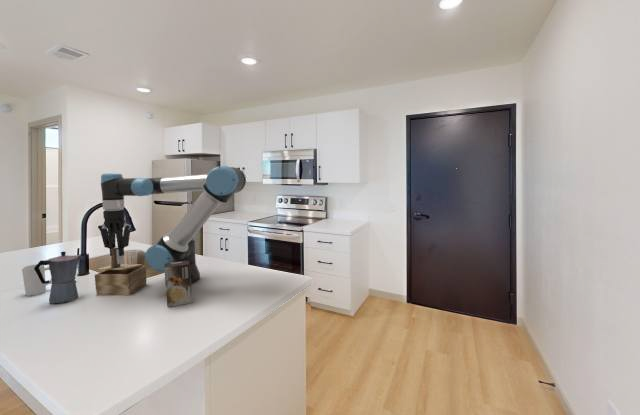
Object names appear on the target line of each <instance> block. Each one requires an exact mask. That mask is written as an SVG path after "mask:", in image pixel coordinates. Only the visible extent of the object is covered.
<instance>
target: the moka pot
mask: <svg viewBox="0 0 640 415" xmlns="http://www.w3.org/2000/svg"><path fill="white" fill-rule="evenodd" d="M66 254H67V253H66V251H61V252H60V255H59V256H55V257H51V258H49V259H45V260H40V261H38V263H36V264H37V265H36V266H35V267H34V270H35V271H36V273H37V275H38V277H39V279H40V281H41V282H42V284H46V283H49V282H50V281H49V280H50V279H51V278H52V284H50V285H51V286H50V291H49V292H50V293H49V299H48V301H49V303H50V304H61V303H62V304H63V303H68V302H71V301H74V300H76V299H78V298H79V292H78V288H77V280H76V275H77V269H78V265H79V263H80V260H81V259H82V257H83V256H81V255H79V254H77V255H66ZM41 265H44V266H49V268H50V270H49V273H50V277H51V278H50V279H49V280H46V279H45V280H44V278H43V276H42V274H41V272H40V269H39V267H40V266H41Z"/></svg>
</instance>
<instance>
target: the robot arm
mask: <svg viewBox="0 0 640 415" xmlns="http://www.w3.org/2000/svg"><path fill="white" fill-rule="evenodd" d="M246 178H247V177H246V175H245V173H244V172H243V170H241V169H240V168H238V167H233V166H232V167H231V166H228V165H220V166H216V167H214V168H212V169H210V171H209V172H208V173H203V174H193V175H191V174H190V175H177V176H166V177H149V178H148V177H146V178H145V177H135V178H134V177H133V178H132V177H129V178H127V177H126V178H125V177H123V175H122V173H102V174H101V175H100V187H101V194H102V196H101V197H102V203H101V204H102V210H103V212H102V214H103V219H104V221H103V224H101V225H97V229H98V230H99V231H100V234H101V239H102V243H103V246H104V248H106V249H109V256H110V257H111V255H112V248H117V249H116V255H117V264H120V263H121V264H122V263H124V258H123V256H124V255H125V248H126V247H129V244H130V236H131V230H132V227H133V225H132V224H128V223H127V222H126V219H125V218H126V211H125V197H130V196H131V197H136V196H137V197H145V196H150V195H161V194H162V195H163V194H173V193H175V194H176V193H189V192H202V193H201V194H200V195H199V196H198V197H197V198H196V200H194V202H193V204H192V205H191V206H190V207H189V209H188V210H187V211H186V212H185V214H184V215H183V216H182V217H181V218H180V219H179V221H178V223H176V225H175V226H174V227H173V229H172V230H171V231H170V232H167V233H166V232H165V233H164V234H163V235H162V236H161V238H160V239H159V240H158V241H157V243H156V244H153V245H151V246H150V247H148V249H147V250H146V251H145V254H144V255H145V256H144V258H145V262H146V264H147V266H148V267H149V268H150V269H152V270H154V271H155V272H165V271H164V264H165V263H172V262H180V261H189V264H190V277H191V284H194V283H197V282H198V281H199V280H200V279H201V272H200V270H199V269H198V266H197V262H196V243H195V242H196V240H195V236H196V235H197V234H198V232H199V231H200V229H201V228H202V227H203V226H204V225H205V224H206V222H207V221H208V220H209V219H210V218H211V217H212V215H213V214H214V213H215V211H216V210H217V209H218V207H219V206H220V205H221V204H226V203H227V202H228V201H229V200H230V199H231V198H232V196H234V195H235V194H236V193H239V192H241V191H242V190H244V188H245V186H246V183H247V179H246ZM116 243H117V246H116Z"/></svg>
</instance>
